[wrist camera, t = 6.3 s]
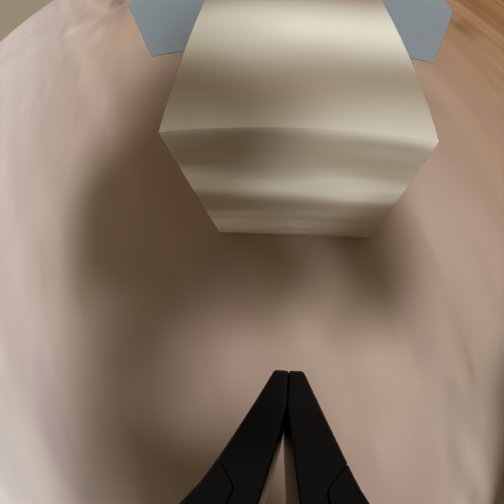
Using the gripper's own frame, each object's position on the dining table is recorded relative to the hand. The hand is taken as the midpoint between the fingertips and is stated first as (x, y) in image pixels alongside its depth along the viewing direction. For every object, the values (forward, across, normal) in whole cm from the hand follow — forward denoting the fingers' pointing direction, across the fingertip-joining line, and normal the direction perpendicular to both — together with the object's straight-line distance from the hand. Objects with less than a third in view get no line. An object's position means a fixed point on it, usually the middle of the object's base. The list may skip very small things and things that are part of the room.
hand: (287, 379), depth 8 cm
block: (+15, 0, -6) cm, 16 cm away
